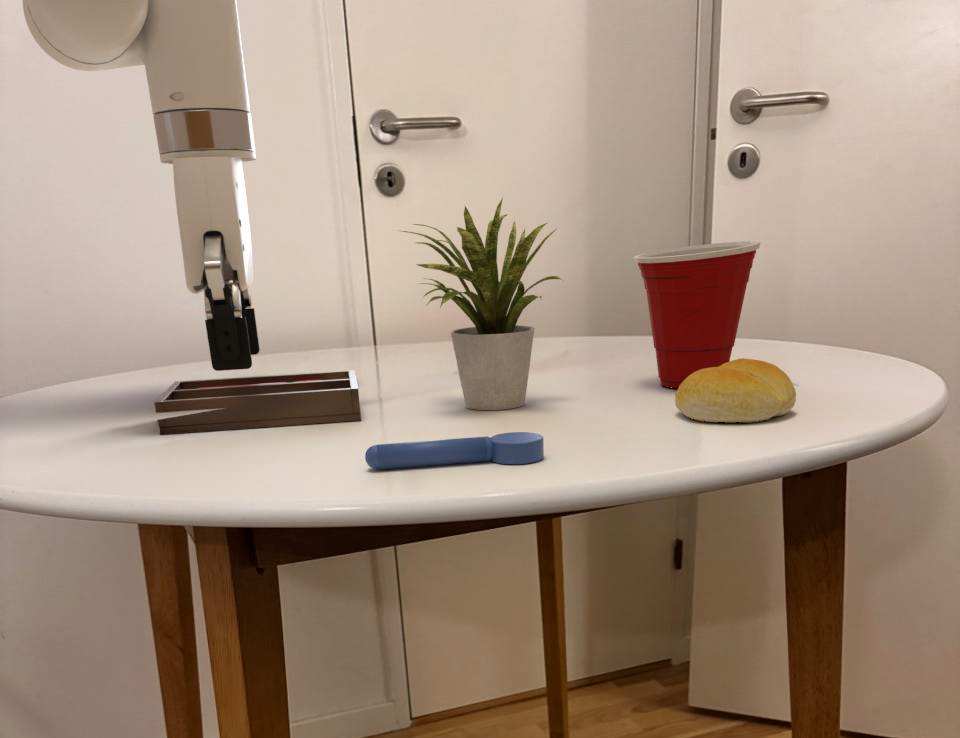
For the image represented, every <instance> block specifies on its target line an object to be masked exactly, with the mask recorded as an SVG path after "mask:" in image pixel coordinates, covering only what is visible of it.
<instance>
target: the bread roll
mask: <svg viewBox="0 0 960 738" xmlns="http://www.w3.org/2000/svg"><path fill="white" fill-rule="evenodd" d="M796 401H797V391H796V388H795V386H794V383H793V382H792V380H791V378H790V377H789V375H787V373H786V372H785V371H784V370H782V369H781V368H780V367H779V366H778V365H776V364H773V363H770V362H767V361H764V360H760V359H753V358H745V357H744V358H743V357H742V358H741V357H740V358H737V359H733V360H730V361H729V362H726V363H724V364H722V365H721V366H719V367H711V368H704V369H701V370H698V371H696V372H694V373H692V374H691V375H689V376H688V377H687V378H686V379H685V380H684V381H683V382H682V383H681V385H680V386H679V388H678V389H676V392H675V398H674V402H675V403H674V404H675V407H676V409H677V410H678V411H679V412H680V413H681V414H682V415H683V416H685V417H687V418H688V417H689V418H688V419H690V418H691V419H690V420H693V419H694V421H699V422H704V421H705V422H706V423H718V422H725V423H724V424H728V423H729V424H731V423H732V424H734V423H736V422H739V423H742V422H743V423H744V424H745V423H746V424H747V423H760V422H762V421H764V420H765V421H767V420H771V418H773V417H780V416H784V415H786V414H787V413H788V412H790V411H791V410H792V409H793V407H794V406H795V404H796ZM759 421H760V422H759ZM736 424H737V423H736Z"/></svg>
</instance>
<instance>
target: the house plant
mask: <svg viewBox="0 0 960 738" xmlns="http://www.w3.org/2000/svg"><path fill="white" fill-rule="evenodd" d="M503 198H504V196H502V198H501V200H500V201H499V203H498V204H497V206H496V209H495V212H494V216H493V219H491V220H490V221H489V222H488V224H487V230H486V236H485V243H484V242H483V240H482V237H481V234H480V233H479V231H478V229H477V227H476V225H475V223H474V220H473V217H472V215H471V213H470V211H469V209H468V208H467V207H466V206H464V209H463V220H464V225H465V228H462V227H458V226H456V231H457V233H458V234H459V235H460V238H461V249H462V251H463V253H464V255H465V257H466V260H467V261H468V263H469V265H470V267H469V266H468V263H467V261H466V260H465V258H464V256H463V254H462V253H461V251H460V250H459V249H458V248H457V246H456V245H455V244H454V242H453V241H452V240H451V239H450V238H449V236H447V234H445V233H444V232H443V231H441V230H439V229H437V228H436V227H434V226H430V225H427V224H418V223H412V225H414V226H420V227H421V226H422V227H427V228H431V229H433V230H435V231H436V232H438V234H440V235H442V237H443V238H444V239H445V240H443V239H436V238H433V237H431V236H429V235H426V234H423V233H419V232H414V231H407V230H401V232H403V233H407V234H408V233H409V234H414V235H417V236H421V237H424V238H426V239H427V240H429V241H432V242H433V243H434V244H432V243H430V242H423V241H419V242H416V244H417V245H418V244H420V245H421V244H422V245H426V246H428V247H429V248H431V249H433V250H434V251H435V252H437V253H438V254H439V255H440V256H441V257H442V258H443V259H444V260H445V262H447V264H443V263H442V264H441V263H417V264H416V266H419V267H421V268H424V269H429V270H437V271H442V272H444V273H447V274H449V275H452V276H455V277H457V278H458V280H459V282H460V283H461V286H463V288H464V290H465V291H458V290H457V289H455V288H453V287H447V286H446V285H444V284H443V283H442V282H441V281H438V280H437V279H433V278H428V280H430V281H433V282H434V283H429V282H428V283H423V282H422V283H419V282H418V284H420V285H430V286H435V287H436V288H433V289H432V290H429V291H427V292H426V293H425V294H424V295H423V297H426V296H428V295H429V294H431V293H433V292H436V291H442V292H443V293H445V294H443V295H436V296H435V295H434V296H433V297H431V298H430V299H429V301H428V302H427V304H426V306H428V305H429V304H430V303H431V302H433V301H436V300H439V299H441V301H440V306H439V309H441V307H443V305H444V304H445V303H447V302H448V301H450V300H451V301H453V302H454V304H456V305H457V306H458V307H459V309H460V310H461V311H462V312H463V313H464V314H465V316H466V317H468V319H469V320H470V321H471V322H472V323H473V325H474V326H470V327H464V328H463V327H461V328H457V329H453V330H451V331H450V337H451V340H452V345H453V350H454V355H455V356H454V357H455V360H456V366H457V370H458V375H459V379H460V385H461V389H462V395H463V399H464V405H465V407H466V408H468V409H472V410H477V411H500V410H510V409H515V408H516V409H517V408H520V407H522V406H524V405H525V403H526V397H527V390H528V383H529V382H528V381H529V373H530V365H531V359H532V350H533V343H534V342H533V341H534V336H535V328H534V326H529V325H521V324H520V325H519V324H518V325H517V323H518V320H519V318H520V317H521V315H522V313H523V311H524V310H525V309H526V307H528V305H530V304H531V303H532V302H534V301H535V300H536V299H538V298H539V299H540V301H543V300H542V297H543V295H540V296H538V295H535V294H529V295H526V293H528V292H529V290H531V289H532V288H534V287H535V286H537V285H538V284H540V283H543V282H545V281H550V280H561V281H563V278H561V277H560V276H557V275H556V276H555V275H551V276H545V277H543V278H541V279H539V280H538V281H536V282H535V283H532V285H530V286H528V288H526V287H525V284H524V283H523V282H522V281H521V279H522V277H523V275H524V273H525V272H526V270H527V267H528V266H529V265H530V263H531V261H532V260H533V259H534V258H535V256H536V255H537V254H538V252H539V251H540V249H541V248H542V246H543V245H544V244H545V242H546V241H547V240H548V239H549V238H550V237H551V236H552V235H553V233H554V232H556V230H558V227H556V228H555V229H554V230H552V232H550V233H549V234H547V235H546V236H545V237H544V239H542V241H541V242H540V243H539V244H538V245H537V247H536V248H535V249H534V251H533V252H532V253H530V250H531V248H532V246H533V245H534V243H535V240H536V238H537V237H538V235H539V233H540V232H541V230H543V228H544V227H545V226H546V225H547V224H548V223H549V221H547V222H545V223H544V224H540V225H538V226H537V227H536V228H534V229H533V230H532V231H531V232H530V233H529V234H527V236H526V229H525V227H524V228H523V231H522V232H521V234H520V238H519V240H518V242H517V244H516V239H517V225H516V221H515V220H514V221H513V223H512V226H511V230H510V232H509V236H508V241H507V247H506V251H505V255H504V259H503V263H502V267H501V268H502V270H501V275H500V280H499V269H498V241H499V232H500V229H501V226H502V222H503V220H504V218H506V217H507V216H508V215H509V213H508V214H503V215H501V211H502V204H503ZM396 231H398V232H399V230H396ZM442 242H444V243H446V244H449V246H450V248H451V249H450V248H449V247H447V246H446V245H445V244H444V243H442ZM435 244H436V245H435ZM515 245H516V247H515ZM438 246H439V247H440V248H439V247H438ZM514 248H515V249H514ZM444 251H445V252H444ZM513 252H514V253H513ZM446 253H447V254H448V255H449V256H450V257H451V258H452V259H453V260H454V261H455V262H456V264H457V265H458V266H456V265H455V263H454V262H453V261H452V259H451V258H450V257H449V256H448V255H447V254H446ZM529 253H530V255H529ZM422 279H424V280H426V278H424V277H423V278H422ZM466 281H468V282H470V283H471V285H472V287H473V288H474V290H475V292H476V293H475V292H474V291H471V290H470V288H469V286H468V284H467V282H466ZM465 295H466V296H467V297H468V298H469V299H468V298H467V297H466V296H465ZM422 300H423V299H421V301H422ZM421 301H420V302H421ZM471 302H472V303H471Z"/></svg>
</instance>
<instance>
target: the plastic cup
mask: <svg viewBox="0 0 960 738" xmlns="http://www.w3.org/2000/svg"><path fill="white" fill-rule="evenodd" d="M760 246H761V241H756V240H750V241H749V240H747V241H745V240H744V241H730V242H717V243H706V244H697V245H689V246H681V247H675V248H674V247H673V248H668V249H662V250H661V249H660V250H656V251H655V250H654V251H649V252H646V253H640V254H638V255H635V256H633V257H632V258H633V262H634V263H637V266H638V268H639V270H640V275H641V278H642V280H643V285H644V289H645V291H646V300H647V306H648V307H647V308H648V312H649V314H648V315H649V320H650V327H651V335H652V342H653V348H654V349H655V356H656V365H657V374H658V375H657V376H658V378H659V380H660V385H661V387H663V386H665V387H664V388H667V387H672V388H671V389H673V388H679V386H680V385H681V383H682V382H683V381H684V380H685V379H686V378H687V377H688V376H689V375H691V374H692V373H694V372H696V371H698V370H701V369H704V368H711V367H719V366H721V365H722V364H724V363H726V362H730V361H731V356H732V351H733V347H734V346H735V342H736V339H737V334H738V328H739V323H740V319H741V314H742V310H743V304H744V300H745V295H746V290H747V287H748V283H749V281H750V275H751V269H752V268H753V264H754V259H755V256H756V254H757V250H759V249H760Z"/></svg>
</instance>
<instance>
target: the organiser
mask: <svg viewBox="0 0 960 738" xmlns="http://www.w3.org/2000/svg"><path fill="white" fill-rule="evenodd" d="M304 380H322V381H307V382H296V381H304ZM279 382H286V383H279ZM264 383H276V384H264ZM249 384H261V385H249ZM233 385H246V386H233ZM218 386H231V387H218ZM203 387H216V388H203ZM198 388H200V389H198ZM360 403H361V402H360V392H359V386H358V380H357V376H356V371H355V369H347V370H331V371H330V370H329V371H317V372H316V371H315V372H301V373H287V374H286V373H285V374H270V375H269V374H268V375H254V376H239V377H223V378H209V379H207V378H206V379H194V380H193V379H192V380H178V381H176V380H175V381H174V382H173V383H172V384H171V385H169V387H168V388H167V389H166V390H165V391H164V392H163V393H162V394H161V395H160V397H158V398H157V399H156V400H155V401H154V402H153V404H154V409H155V414H157V413H158V414H161V413H175V412H177V413H178V412H189V411H190V412H191V411H201V412H196V413H195V412H194V413H187V414H183V415H178V416H172V417H165V418H159V419H157V421H156V422H157V425H158V431H159V435H161V436H163V435H177V434H178V435H179V434H192V433H205V432H207V433H208V432H219V431H220V432H221V431H232V430H233V431H234V430H247V429H248V430H249V429H260V428H261V429H263V428H274V427H275V428H277V427H288V426H289V427H290V426H304V425H316V424H330V423H331V424H332V423H345V422H361V421H362V416H361V415H362V414H361V413H362V412H361V404H360ZM204 410H207V411H204Z"/></svg>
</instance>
